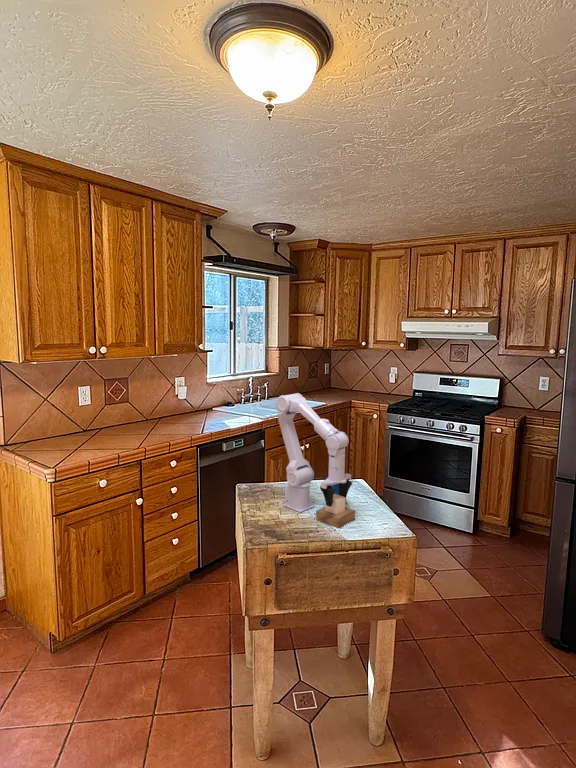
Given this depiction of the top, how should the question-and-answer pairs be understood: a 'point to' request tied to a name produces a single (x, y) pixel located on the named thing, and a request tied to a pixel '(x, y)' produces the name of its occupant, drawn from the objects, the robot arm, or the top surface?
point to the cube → (337, 504)
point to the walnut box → (335, 517)
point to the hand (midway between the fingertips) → (335, 502)
